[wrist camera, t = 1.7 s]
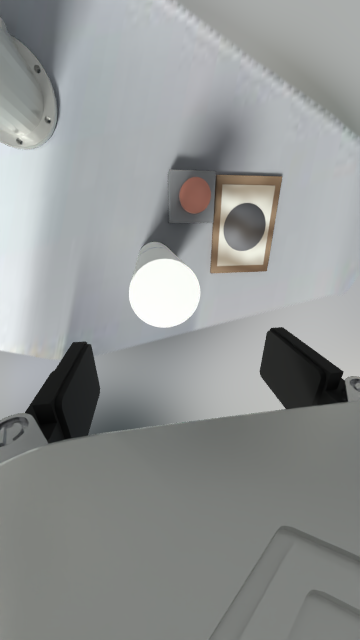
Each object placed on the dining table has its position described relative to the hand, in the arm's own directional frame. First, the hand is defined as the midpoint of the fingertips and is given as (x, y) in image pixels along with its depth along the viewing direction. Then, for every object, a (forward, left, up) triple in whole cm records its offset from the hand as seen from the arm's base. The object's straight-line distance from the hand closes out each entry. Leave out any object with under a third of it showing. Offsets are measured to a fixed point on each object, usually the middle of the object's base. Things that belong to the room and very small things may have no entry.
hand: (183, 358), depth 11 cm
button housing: (-11, +7, -36) cm, 38 cm away
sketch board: (-6, +18, -36) cm, 41 cm away
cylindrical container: (0, 0, -36) cm, 36 cm away
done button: (-11, +7, -33) cm, 36 cm away
